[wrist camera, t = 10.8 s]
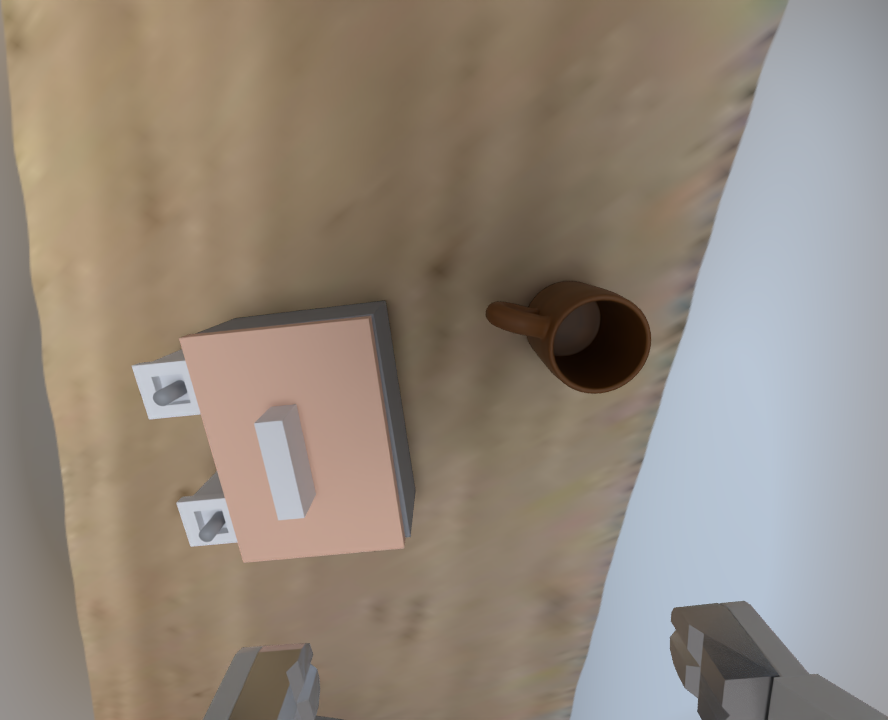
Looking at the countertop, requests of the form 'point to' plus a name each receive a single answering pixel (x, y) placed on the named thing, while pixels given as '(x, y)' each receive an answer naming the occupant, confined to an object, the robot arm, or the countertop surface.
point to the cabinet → (377, 310)
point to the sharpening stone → (325, 718)
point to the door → (289, 438)
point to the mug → (581, 334)
